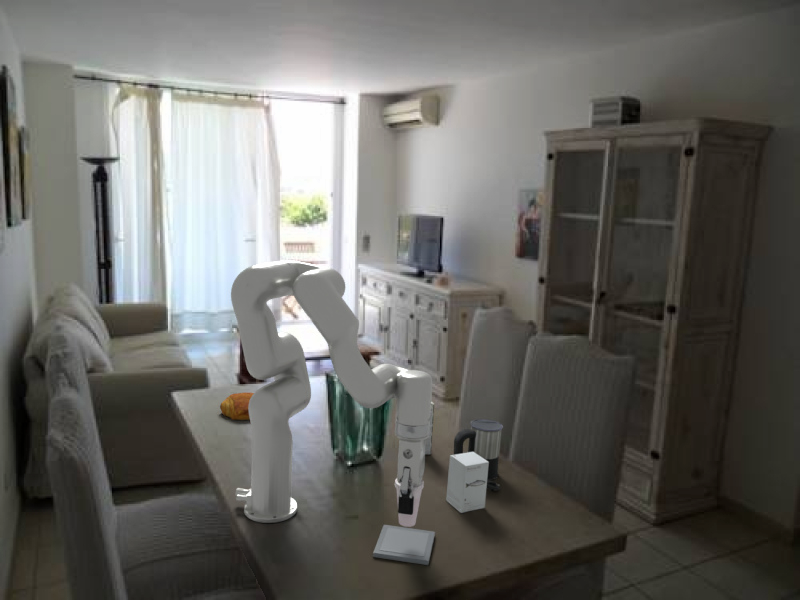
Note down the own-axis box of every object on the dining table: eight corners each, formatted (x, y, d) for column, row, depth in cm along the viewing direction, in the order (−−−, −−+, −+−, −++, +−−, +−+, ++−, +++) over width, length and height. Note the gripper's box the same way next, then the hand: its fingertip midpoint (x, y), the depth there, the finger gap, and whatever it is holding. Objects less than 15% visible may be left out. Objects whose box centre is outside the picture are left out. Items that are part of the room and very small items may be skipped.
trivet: (372, 556, 136) (373, 552, 136) (383, 528, 148) (383, 524, 148) (428, 565, 134) (428, 560, 134) (434, 535, 146) (434, 531, 146)
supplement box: (461, 514, 157) (464, 466, 155) (445, 500, 163) (448, 454, 161) (485, 508, 160) (489, 461, 158) (469, 495, 167) (473, 450, 165)
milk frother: (483, 464, 187) (487, 416, 184) (522, 485, 174) (527, 434, 172) (446, 475, 178) (450, 424, 176) (485, 498, 166) (490, 444, 164)
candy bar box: (402, 442, 200) (405, 392, 197) (417, 440, 202) (420, 391, 199) (416, 456, 190) (420, 404, 187) (431, 455, 191) (435, 403, 189)
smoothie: (418, 531, 136) (422, 470, 134) (389, 527, 138) (393, 466, 135) (423, 517, 143) (427, 458, 140) (395, 513, 144) (399, 455, 142)
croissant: (221, 413, 222) (218, 392, 220) (266, 405, 226) (263, 384, 224) (222, 427, 208) (218, 404, 207) (270, 419, 212) (267, 396, 211)
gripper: (424, 445, 128) (419, 527, 131) (434, 416, 144) (429, 490, 147) (387, 441, 129) (383, 523, 132) (401, 413, 146) (397, 486, 149)
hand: (408, 505), depth 140 cm, fingers closed on smoothie, 6 cm apart
